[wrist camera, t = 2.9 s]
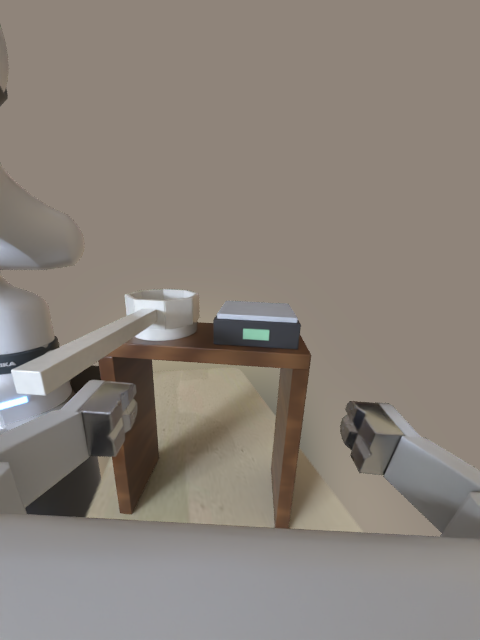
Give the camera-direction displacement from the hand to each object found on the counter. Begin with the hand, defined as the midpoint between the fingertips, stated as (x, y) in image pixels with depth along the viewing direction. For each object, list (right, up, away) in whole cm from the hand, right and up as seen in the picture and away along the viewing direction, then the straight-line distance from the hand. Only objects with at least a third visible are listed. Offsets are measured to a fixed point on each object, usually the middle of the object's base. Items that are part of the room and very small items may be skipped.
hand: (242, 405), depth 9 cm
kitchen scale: (+2, +2, +16) cm, 16 cm away
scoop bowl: (-9, +1, +11) cm, 14 cm away
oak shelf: (-4, -19, +22) cm, 30 cm away
